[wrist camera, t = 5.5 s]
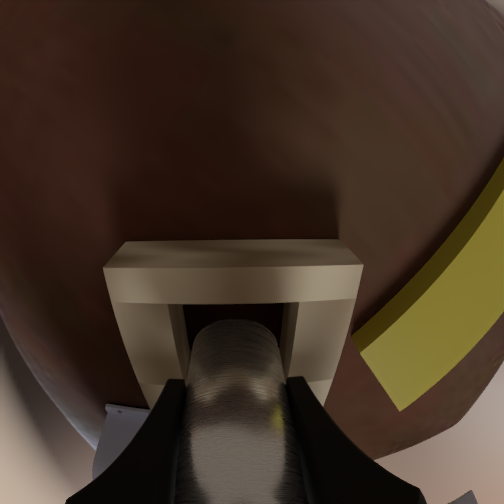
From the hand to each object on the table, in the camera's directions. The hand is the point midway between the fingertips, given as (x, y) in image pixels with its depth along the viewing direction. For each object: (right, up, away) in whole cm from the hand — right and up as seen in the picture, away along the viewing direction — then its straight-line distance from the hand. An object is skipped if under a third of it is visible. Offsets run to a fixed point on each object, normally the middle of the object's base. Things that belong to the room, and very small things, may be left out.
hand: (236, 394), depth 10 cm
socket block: (0, 0, +6) cm, 6 cm away
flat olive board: (+18, +4, +7) cm, 20 cm away
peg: (0, +1, +2) cm, 3 cm away
